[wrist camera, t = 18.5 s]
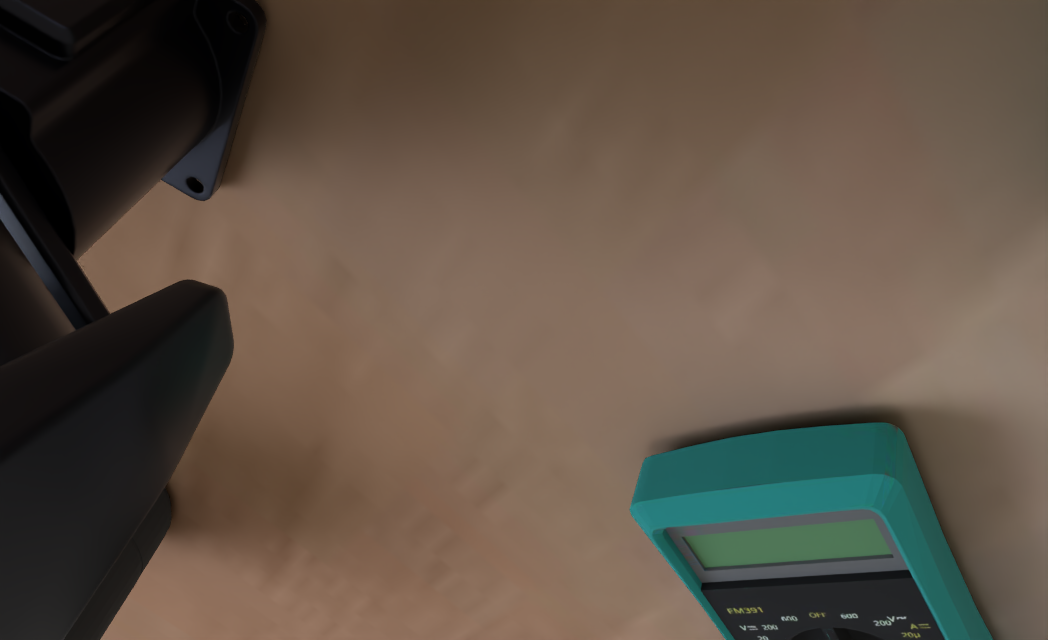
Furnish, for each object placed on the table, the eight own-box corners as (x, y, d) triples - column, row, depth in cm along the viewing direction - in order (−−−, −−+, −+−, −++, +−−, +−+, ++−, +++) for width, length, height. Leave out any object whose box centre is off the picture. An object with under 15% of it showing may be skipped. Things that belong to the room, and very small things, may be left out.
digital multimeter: (819, 713, 35) (813, 795, 32) (636, 438, 28) (613, 519, 26) (1043, 715, 31) (1052, 808, 29) (895, 395, 24) (893, 486, 22)
